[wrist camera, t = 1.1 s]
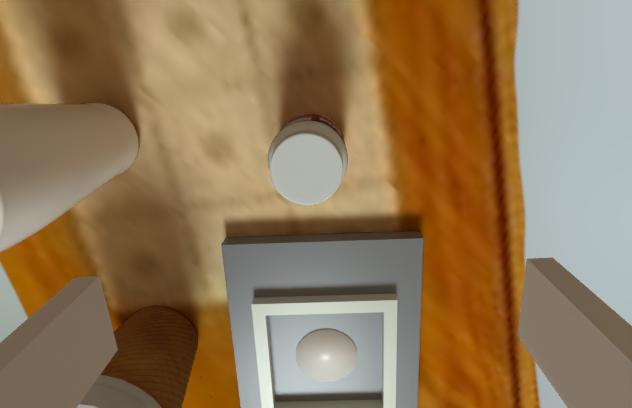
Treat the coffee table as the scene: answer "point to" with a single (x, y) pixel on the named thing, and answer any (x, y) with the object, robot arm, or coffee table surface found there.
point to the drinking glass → (56, 160)
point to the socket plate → (326, 319)
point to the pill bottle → (308, 159)
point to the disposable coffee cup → (147, 362)
